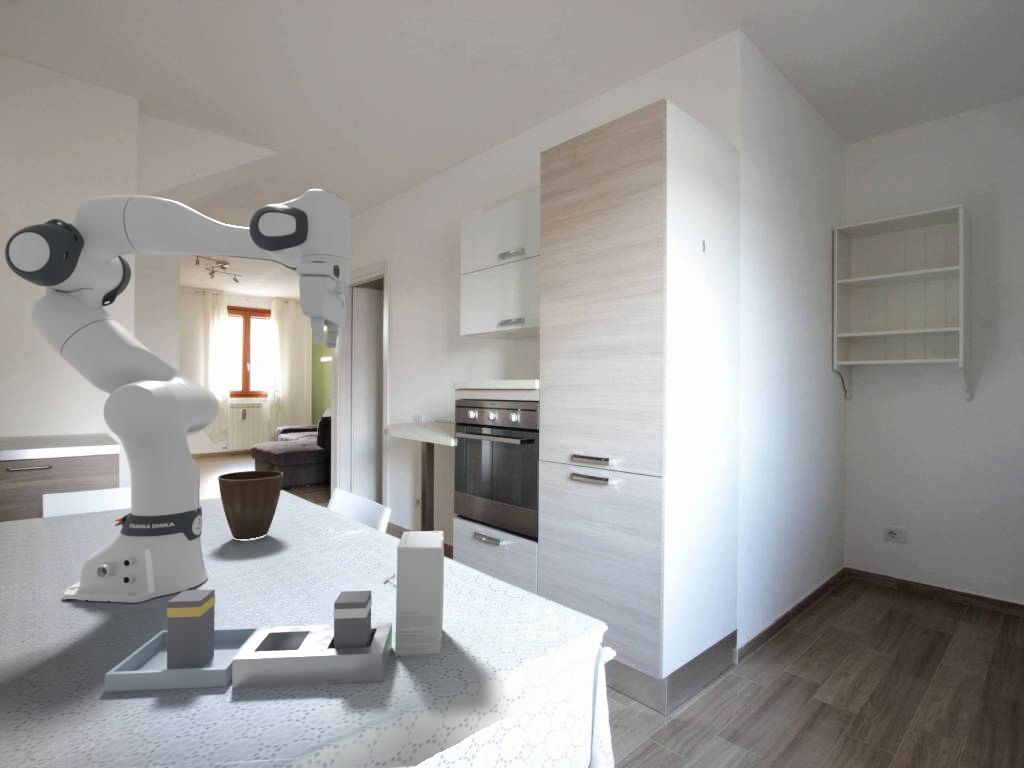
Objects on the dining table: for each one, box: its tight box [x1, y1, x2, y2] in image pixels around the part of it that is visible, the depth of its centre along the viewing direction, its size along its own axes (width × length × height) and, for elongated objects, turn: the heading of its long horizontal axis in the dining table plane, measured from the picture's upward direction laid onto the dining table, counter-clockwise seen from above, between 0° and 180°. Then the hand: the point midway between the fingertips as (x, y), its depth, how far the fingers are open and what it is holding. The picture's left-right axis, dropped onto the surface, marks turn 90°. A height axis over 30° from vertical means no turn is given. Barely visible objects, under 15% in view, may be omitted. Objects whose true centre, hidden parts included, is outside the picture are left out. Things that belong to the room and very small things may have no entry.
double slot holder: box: [231, 622, 393, 689], centre depth 70 cm, size 18×9×4 cm, turn 95°
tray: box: [104, 626, 262, 693], centre depth 70 cm, size 14×12×3 cm
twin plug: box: [333, 590, 373, 648], centre depth 70 cm, size 4×4×9 cm
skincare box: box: [394, 530, 445, 656], centre depth 77 cm, size 8×7×16 cm
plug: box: [166, 589, 216, 669], centre depth 70 cm, size 4×4×9 cm
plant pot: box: [217, 470, 284, 539], centre depth 135 cm, size 15×15×16 cm
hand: (325, 346), depth 103 cm, fingers open, 8 cm apart
